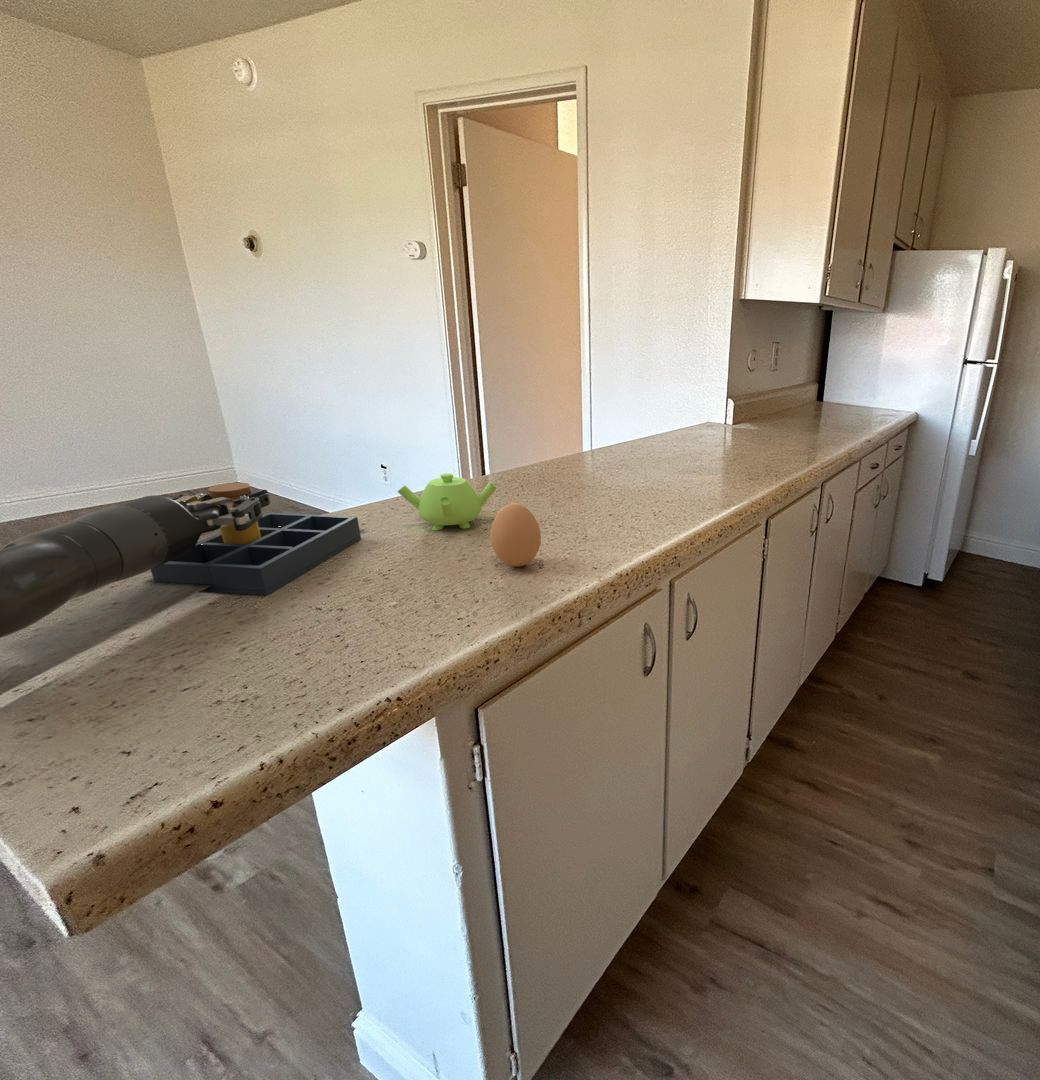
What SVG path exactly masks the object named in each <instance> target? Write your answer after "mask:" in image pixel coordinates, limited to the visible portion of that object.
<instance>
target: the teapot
mask: <svg viewBox="0 0 1040 1080" xmlns="http://www.w3.org/2000/svg"><path fill="white" fill-rule="evenodd" d="M497 489H498V486H497V485H495V484H494V483H493V482H488V483H487V485H486V486H485V487H484V489H483V490H482V491H481V493H480V494H479V495H478V492H477V491H476V490H475V488H474V487H473V486H472V485H471V483H470V482H469V481H467V479H465V478H463V477H457V476H456V477H455V476H454V473H450V472H445V473H441V474H440V477H438V478H434V479H431V480H429V482H427V484H426V485H425V487H424V488H423V491H422V493H421V495H420V497H419V496H418V495H416V494H415V493H414V492H413V491H412V490H411V489H410V488H409V487H408V486H407V485H403V486H402V487H400V488H399V489H398V490H397V493H398V494H399V495H400V496H401V497H403V498H404V499H405V500H406V501H407V502H408V503H410V505H412V506H413V507H414V508H415V509H416V510H418V514H419V516H420V517H421V519H423V520H424V521H425V522H426V523H428V524H430V525H432V527H431V530H433V531H440V530H444V527H445V526H454V525H456V526H457V525H458V527H459V529H469V528H471V525H470V522H472V521H474V520H476V519H477V517H479V515H480V514H481V512H482V510H483V507H484V505H485V504H486V502H488V500H489V499H490V498H491V497H492V495H493V494H494V493H495V491H496V490H497Z"/></svg>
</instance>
